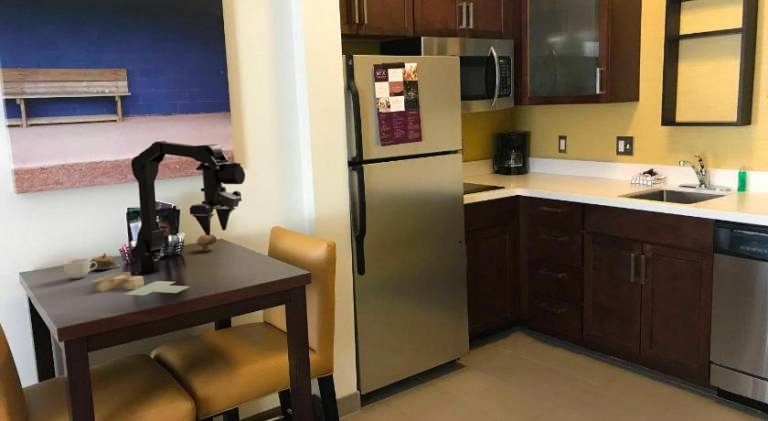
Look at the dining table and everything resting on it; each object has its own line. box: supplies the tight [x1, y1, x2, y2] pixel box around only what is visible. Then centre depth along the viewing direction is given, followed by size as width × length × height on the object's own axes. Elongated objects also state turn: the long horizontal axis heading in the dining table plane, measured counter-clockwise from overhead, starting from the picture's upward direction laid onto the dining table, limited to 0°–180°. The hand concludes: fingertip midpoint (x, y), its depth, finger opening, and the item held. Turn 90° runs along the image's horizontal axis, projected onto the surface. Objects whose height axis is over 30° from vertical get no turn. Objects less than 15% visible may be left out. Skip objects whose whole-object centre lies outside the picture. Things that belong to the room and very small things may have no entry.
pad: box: [124, 280, 191, 296], centre depth 186 cm, size 15×15×1 cm
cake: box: [90, 253, 121, 271], centre depth 217 cm, size 10×10×5 cm
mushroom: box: [196, 233, 218, 252], centre depth 240 cm, size 8×8×6 cm
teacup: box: [62, 258, 97, 279], centre depth 205 cm, size 10×8×5 cm
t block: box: [91, 271, 145, 293], centre depth 190 cm, size 12×12×3 cm
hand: (216, 232), depth 198 cm, fingers open, 9 cm apart
